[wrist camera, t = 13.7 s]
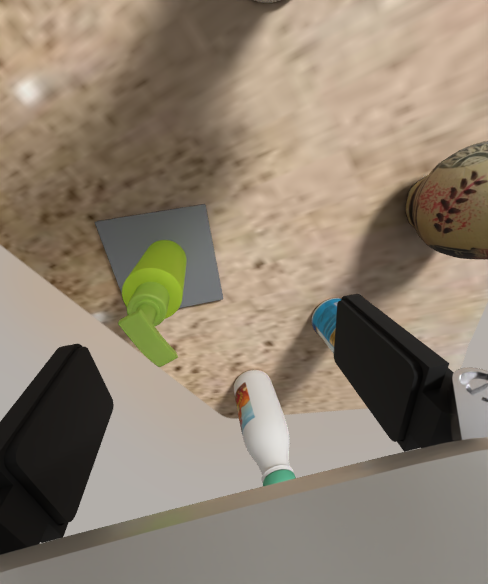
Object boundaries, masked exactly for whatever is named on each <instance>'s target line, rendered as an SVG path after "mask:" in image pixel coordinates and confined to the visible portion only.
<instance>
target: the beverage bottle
mask: <svg viewBox="0 0 488 584" xmlns="http://www.w3.org/2000/svg"><path fill="white" fill-rule="evenodd" d="M338 301H341V298H332V299H328V300H326V301H324V302H323V303H321V304H320V305H319V306H318V307H317V308H316V310H315V311H314V313H313V316H312V326H313V328H314V330H315V331H316V333H317V334H318V335H319V336H320V337H321V338H322V339H323V341H324V342H325V343H326V344H327V346H328V347H329V348H330V350H331V351H332V352H333V353H334V343H335V329H336V315H337V303H338Z"/></svg>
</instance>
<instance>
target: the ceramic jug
mask: <svg viewBox="0 0 488 584" xmlns="http://www.w3.org/2000/svg"><path fill="white" fill-rule="evenodd" d="M406 214H407V218H408V222H409V223H410V225H412V226H413V227H414V228H416V231H417V233H418V235H419V236H420V238H421V239H422V240H423V241H424V242H425V243H426V244H427V245H428V246H430V247H431V248H432V249H434V250H436V251H438V252H440V253H443V254H446V255H450V256H453V257H457V258H464V259H488V141H484V142H481V143H477V144H474V145H471V146H468V147H466V148H464V149H462V150H459V151H458V152H456V153H454V154H453V155H451V156H450V157H448V158H447V159H445V160H444V161H442V162H440V163H439V164H438V165H437V166H436V167H435V168H434V169H433V170H432V171H431V173H430V174H429V175H428V176H426V177H424V178H423V179H421V180H420V181H419V182H417V183H416V184H415V185H414V186H413V187H412V188H411V189H410V191H409V194H408V199H407V203H406Z"/></svg>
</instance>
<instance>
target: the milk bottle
mask: <svg viewBox="0 0 488 584" xmlns="http://www.w3.org/2000/svg"><path fill="white" fill-rule="evenodd" d="M234 394H235V399H236V405H237V410H238V416H239V421H240V426H241V430H242V435H243V439H244V442H245V446H246V448H247V450H248V452H249V454H250V455H251V456H252V458H253V459H254V460H255V462H256V463H257V465H258V466H259V468H260V470H261V472H262V475H263V476H262V482H263V486H267V485H271V484H275V483H279V482H283V481H287V480H291V479H295V478H296V477H295V475H294V473H293V469H292V468H291V467H290V465H289V440H290V439H289V431H288V426H287V423H286V420H285V417H284V414H283V411H282V409H281V406H280V403H279V400H278V398H277V395H276V393H275V390H274V387H273V385H272V382H271V380H270V377H269V376H268V375H267V374H266V373H265V372H263V371H260V370H249V371H246V372H244V373H242V374H241V375H240V376H239V377H238V378H237V379H236V381H235V384H234Z"/></svg>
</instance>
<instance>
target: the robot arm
mask: <svg viewBox="0 0 488 584" xmlns="http://www.w3.org/2000/svg"><path fill="white" fill-rule="evenodd" d="M254 1H258V2H262V3H269V2H276V1H279V0H254ZM334 359H335V362H336V364H337V365H338V367H339V368H340V370H341V371H342V372H343V374H344V375H345V377H346V378H347V379H348V381H349V382H350V383H351V385H352V386H353V388H354V389H355V390H356V392H357V393H358V395H359V396H360V397H361V399H362V400H363V402H364V403H365V404H366V406H367V407H368V409H369V410H370V411H371V413H372V414H373V415H374V417H375V418H376V420H377V421H378V422H379V424H380V425H381V427H382V428H383V429H384V431H385V432H386V433H387V435H388V436H389V438H390V439H391V440H392V441H394V442H396V441H397V442H398V444H399V445H400V446H401V448H402V449H403V450H404V452H402V453H398V454H394V455H389V456H385V457H381V458H377V459H373V460H369V461H365V462H360V463H356V464H352V465H348V466H344V467H340V468H336V469H332V470H328V471H324V472H320V473H316V474H312V475H308V476H303V477H300V478H295V479H291V480H287V481H283V482H279V483H275V484H271V485H267V486H263V487H259V488H256V489H251V490H247V491H243V492H240V493H235V494H232V495H227V496H223V497H219V498H215V499H212V500H207V501H204V502H200V503H196V504H192V505H188V506H184V507H180V508H176V509H172V510H168V511H164V512H160V513H157V514H152V515H149V516H145V517H141V518H137V519H133V520H129V521H125V522H121V523H118V524H114V525H110V526H106V527H102V528H98V529H94V530H90V531H86V532H82V533H78V534H75V535H71V536H67V537H63V536H64V533H65V530H66V528H67V525H68V522H71V521H72V520H73V518H74V517H75V515H76V513H77V510H78V507H79V504H80V501H81V499H82V496H83V493H84V490H85V487H86V484H87V482H88V479H89V476H90V473H91V470H92V467H93V464H94V462H95V459H96V456H97V453H98V450H99V448H100V445H101V442H102V439H103V436H104V433H105V430H106V427H107V425H108V422H109V419H110V416H111V414H112V410H113V400H112V397H111V395H110V393H109V391H108V389H107V387H106V385H105V383H104V381H103V379H102V377H101V375H100V373H99V371H98V368H97V366H96V365H95V362H94V360H93V358H92V356H91V354H90V352H89V350H88V348H86V347H82V346H81V345H80V344H73V345H68V346H63V347H59V348H58V349H57V350H56V351H55V353H54V354H53V355H52V357H51V358H50V359H49V360H48V362H47V363H46V364H45V365H44V367H43V368H42V369H41V371H40V372H39V373H38V374H37V376H36V377H35V378H34V380H33V381H32V382H31V383H30V385H29V386H28V387H27V389H26V390H25V391H24V392H23V394H22V395H21V396H20V398H19V399H18V400H17V401H16V403H15V404H14V405H13V406H12V408H11V409H10V410H9V411H8V413H7V414H6V415H5V417H4V418H3V419H2V420H1V422H0V584H488V371H487V370H483V369H478V368H461V369H458V370H456V371H455V372H452V371H451V370H450V369H449V368H448V365H449V363H448V362H447V361H445V360H444V359H443V358H442V357H440V356H439V355H438V354H436V353H435V352H434V351H432V350H431V349H430V348H429V347H427V346H426V345H425V344H423V343H422V342H421V341H419V340H418V339H417V338H415V337H414V336H413V335H412V334H410V333H409V332H408V331H406V330H405V329H404V328H402V327H401V326H400V325H399V324H397V323H396V322H395V321H393V320H392V319H391V318H389V317H388V316H387V315H385V314H384V313H383V312H382V311H380V310H379V309H378V308H376V307H375V306H374V305H372V304H371V303H370V302H368V301H367V300H366V299H365V298H363V297H362V296H361V295H359V294H354V295H348V296H343V297H342V299H341V301H338V303H337V315H336V329H335V343H334ZM420 447H421V449H417V448H420ZM413 449H416V450H413ZM409 450H411V451H409ZM405 451H407V452H405ZM59 538H60V539H59ZM55 539H56V540H55ZM51 540H52V541H51ZM47 541H49V542H47ZM40 542H41V543H42V544H39V543H40ZM43 542H45V543H43Z"/></svg>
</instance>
